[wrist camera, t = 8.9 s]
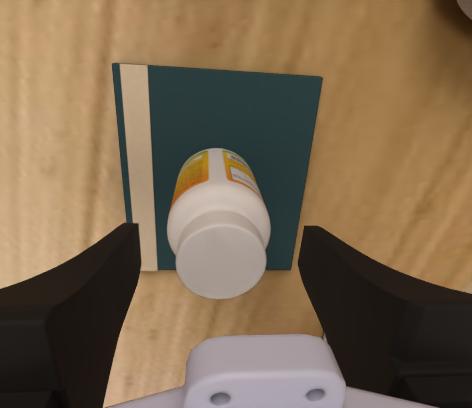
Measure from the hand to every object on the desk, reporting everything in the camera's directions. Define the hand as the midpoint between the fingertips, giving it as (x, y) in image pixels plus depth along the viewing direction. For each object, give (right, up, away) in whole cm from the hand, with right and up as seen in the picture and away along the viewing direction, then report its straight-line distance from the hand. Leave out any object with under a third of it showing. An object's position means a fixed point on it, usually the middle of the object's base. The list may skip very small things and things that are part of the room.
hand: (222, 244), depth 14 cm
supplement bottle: (-1, +3, +9) cm, 9 cm away
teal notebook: (-1, +4, +9) cm, 10 cm away
